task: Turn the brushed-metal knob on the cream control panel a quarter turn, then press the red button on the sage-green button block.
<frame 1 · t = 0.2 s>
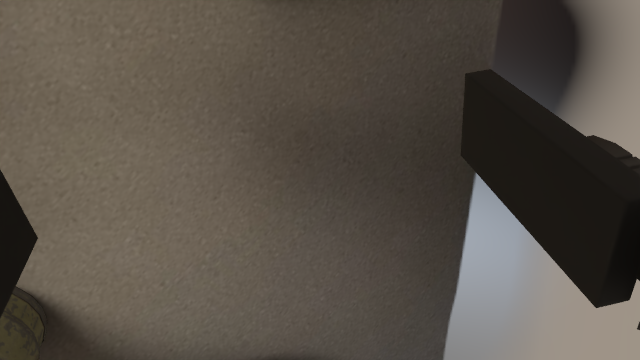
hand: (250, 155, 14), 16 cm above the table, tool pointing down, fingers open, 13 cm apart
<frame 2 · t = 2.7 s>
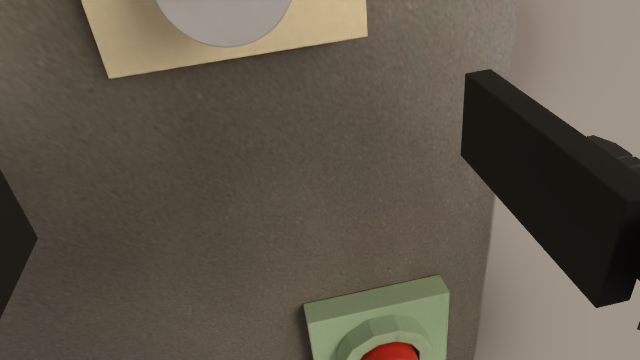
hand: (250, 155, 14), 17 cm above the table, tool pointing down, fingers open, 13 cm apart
button block: (374, 328, 45), on the table
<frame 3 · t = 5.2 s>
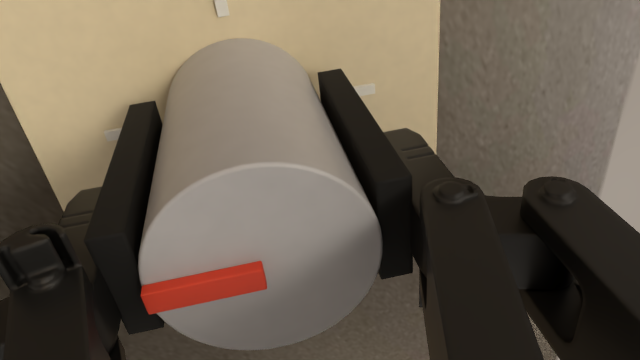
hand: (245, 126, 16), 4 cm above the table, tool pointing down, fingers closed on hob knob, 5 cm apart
hob knob: (252, 173, 13), point 7 cm above the table, hinge at 0.0°, touching gripper
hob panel: (239, 79, 19), on the table
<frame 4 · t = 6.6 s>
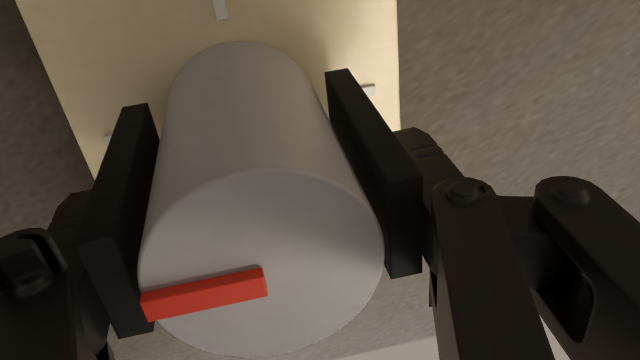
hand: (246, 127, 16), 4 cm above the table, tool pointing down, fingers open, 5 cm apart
hob knob: (253, 177, 13), point 7 cm above the table, hinge at 89.4°
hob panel: (239, 82, 19), on the table
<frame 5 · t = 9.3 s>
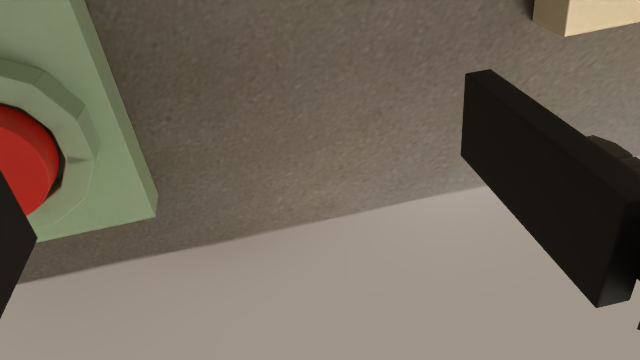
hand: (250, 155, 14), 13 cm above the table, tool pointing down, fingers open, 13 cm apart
button block: (23, 120, 25), on the table
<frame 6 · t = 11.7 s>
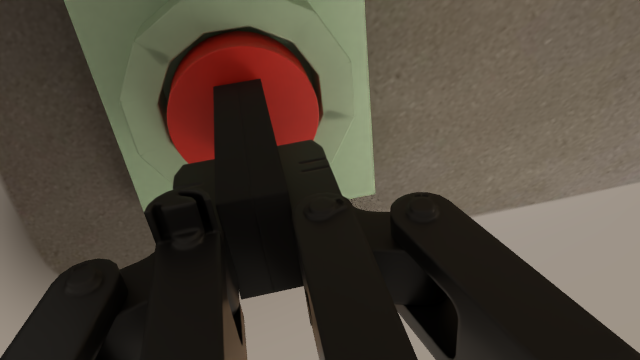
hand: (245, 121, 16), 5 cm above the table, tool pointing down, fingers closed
start button: (243, 110, 17), point 4 cm above the table, slide at -0.3 cm, touching gripper
button block: (238, 70, 20), on the table
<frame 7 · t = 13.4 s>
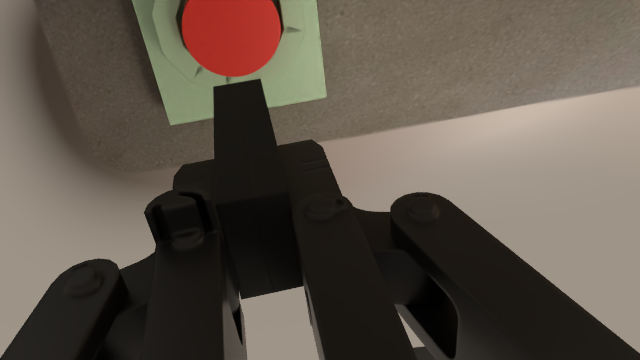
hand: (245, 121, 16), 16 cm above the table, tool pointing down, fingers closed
start button: (231, 25, 26), point 4 cm above the table, slide at 0.1 cm
button block: (228, 6, 30), on the table
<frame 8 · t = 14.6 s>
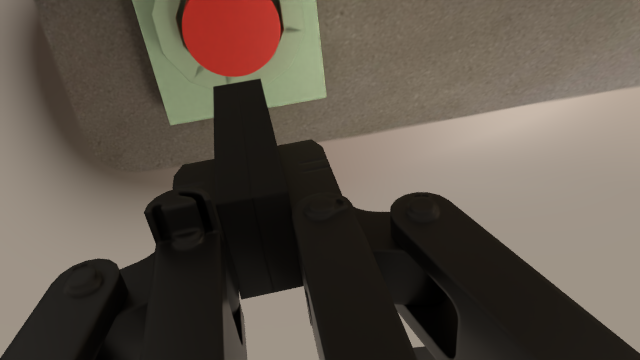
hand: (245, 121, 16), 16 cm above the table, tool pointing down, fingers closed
start button: (231, 25, 26), point 4 cm above the table, slide at 0.1 cm
button block: (228, 6, 30), on the table
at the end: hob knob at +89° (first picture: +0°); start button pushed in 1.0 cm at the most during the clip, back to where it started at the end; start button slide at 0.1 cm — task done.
